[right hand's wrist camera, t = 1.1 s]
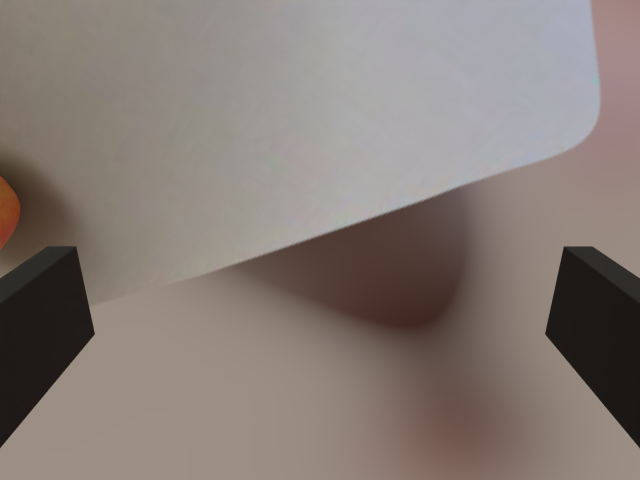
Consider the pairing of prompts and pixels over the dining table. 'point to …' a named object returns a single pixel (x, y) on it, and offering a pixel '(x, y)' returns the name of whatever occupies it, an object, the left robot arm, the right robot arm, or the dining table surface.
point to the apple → (7, 212)
